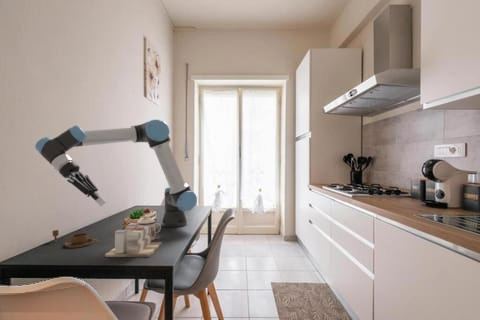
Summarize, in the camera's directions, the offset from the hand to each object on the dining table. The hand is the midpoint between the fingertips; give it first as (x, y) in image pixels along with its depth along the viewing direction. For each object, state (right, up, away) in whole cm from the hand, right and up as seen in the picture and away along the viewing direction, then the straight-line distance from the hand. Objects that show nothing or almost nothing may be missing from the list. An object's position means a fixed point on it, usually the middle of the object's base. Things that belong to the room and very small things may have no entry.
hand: (103, 203), depth 123 cm
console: (+15, -20, -2) cm, 25 cm away
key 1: (+11, -18, -9) cm, 23 cm away
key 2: (+11, -19, +4) cm, 22 cm away
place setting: (-18, -21, +9) cm, 29 cm away
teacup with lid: (+15, -20, +16) cm, 30 cm away
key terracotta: (+13, -19, -2) cm, 23 cm away
